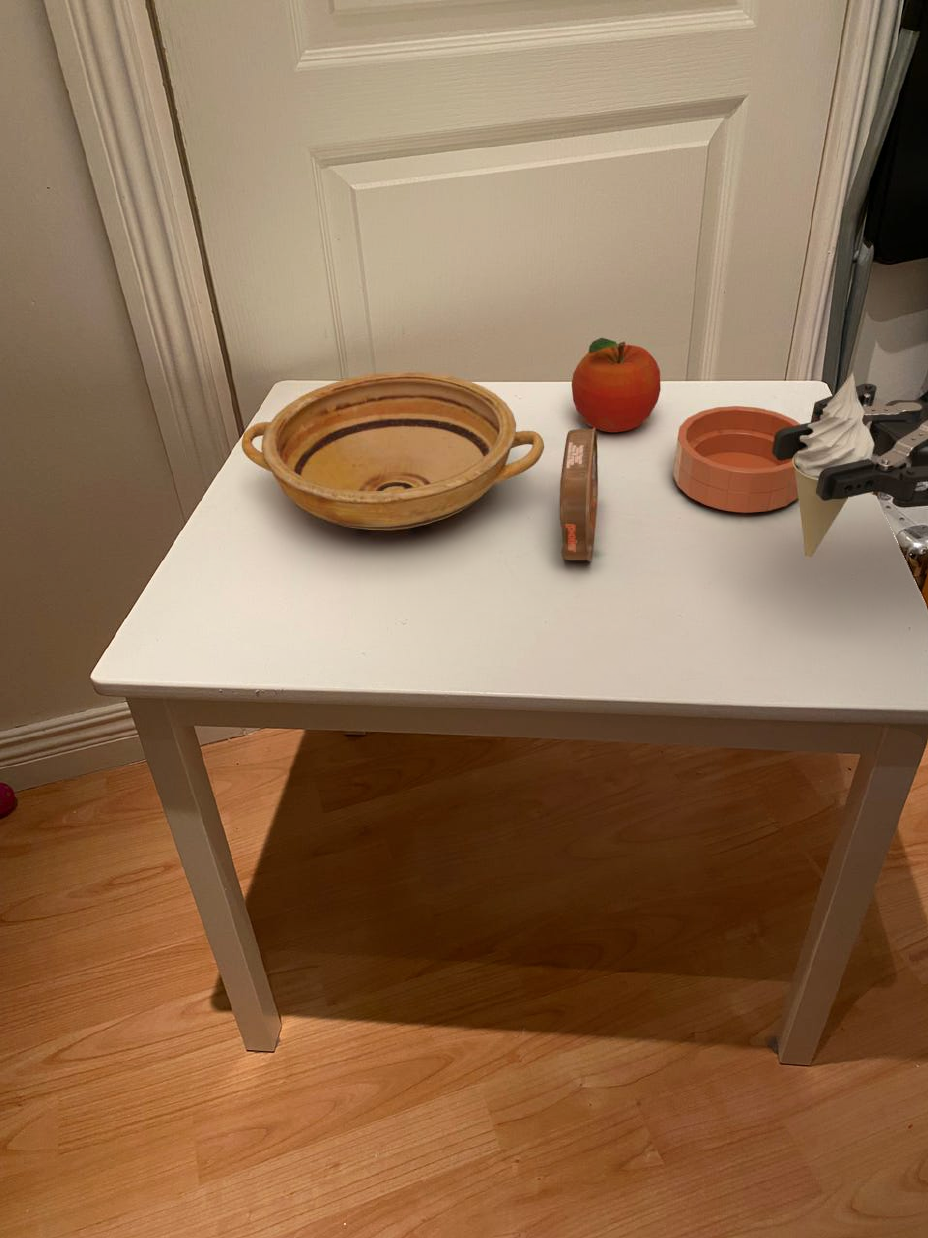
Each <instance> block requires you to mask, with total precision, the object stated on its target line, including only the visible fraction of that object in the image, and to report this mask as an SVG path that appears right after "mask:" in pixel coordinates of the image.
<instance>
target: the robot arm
mask: <svg viewBox="0 0 928 1238" xmlns="http://www.w3.org/2000/svg"><path fill="white" fill-rule="evenodd" d="M855 387H856V392H857V396H858V400H859V402H860V404H861V406H862V408H863V410H864V411H865V413H864V416H863V418H862V422H863V424H864V425H865V426H866V427H867V425H868V424H869V423H870V422H871V423H870V424H869V428H868V429H869V432H870V434H871V437H872V439H873V442H874V448H873V452H872V456H871V457H873V456H874V457H875V456H877V458H876V460H875V462H873V461H872V459H871V460H870V459H864V460H860V461H856V462H851V463H847V464H842V465H838V466H834V467H829V468H826V469H824V470H823V471H822V472H821V473H820V475H819V479H818V483H817V488H816V495H817V496H819V497H820V498H821V499H822V500H823V501H827V500H831V499H844V498H848V499H849V498H853V497H856V496H860V495H861V496H862V495H865V494H869V493H870V494H871V495H872V496H875V497H884V496H886V495H887V496H889V497H891V498H892V501H891V502H892V505H894V506H895V507H898V508H903V509H905V508H914V507H915V508H918V507H928V487H926V488H925V489H923V490H922V489H921V490H916V489H917V486H918V484H919V483H927V482H928V390H926V391H925V392H924V393H923V394H921V396H919V397H918V398H916V399H894V400H891V401H889V402H887V401H886V400H883V399H881V398H879V397H877V396H876V394H877V388H878V386H876V385H875V384H873V383H862V384H858V385H857V386H856V385H855ZM836 394H837V393H835V394H833V395H830V396H827V397H824V398H822V399H820V400H818V401H815V402H814V404H813V409H812V412H811V418H810V422H806V423H800V424H801V425H796V426H791V427H787V428H783V429H781V430H779V431H778V432H777V433H776V434H775V437H774V442H773V448H772V455H773V456H774V457H775V458H776V459H778V460H779V461H782V460H787V459H791V458H793V456H794V455H795V454H796V453H797V452H798V451H800V450H802V449H804V448H805V447H807V445H806V443H804V442H801V441H800V437H801V436H808V435H810V434H812V432H813V430H812V429H811V428H810V427H808V425H809V424H811V423H815V422H818V421H820V420H822V418H823V409H824V408H825V407H827V406H828V405H827V404H828V403H829V402H830V401H831V400H832V399H833V398H834V396H835V395H836Z"/></svg>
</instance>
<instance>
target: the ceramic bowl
mask: <svg viewBox="0 0 928 1238" xmlns="http://www.w3.org/2000/svg"><path fill="white" fill-rule="evenodd" d="M258 437H261V445H260V446H261V447H260V450H261V451H260V450H259V449H257V448H256V447H255V446H254V444H253V441H254V440H255V439H256V438H258ZM523 445H524V446H525V445H530V446H531V449H530V450H529V451H528V452H527V454H525V455H524V456H523V457H521V458H520V459H518V460H515V461H514V462H511V463H508V464H507V462H508V459H509V456H510V453H511V450H512V449H515V448H517V447H519V446H523ZM241 449H242V452H243V453H244V455H245V456H246V458H247V459H249V460H250V461H251V462H252V463H254V464H256V465H258V466H259V467H261V468H263V469H264V470H266V471H269V472H270V473H272V475H273V476H274V478H275V480H276V482H277V483H278V485H279V486H280V488H281V490H282V491H283V492H284V494H286V496H287V497H288V498H289V499H291V500H292V501H293V502H294V503H295V504H296V505H297V506H298V507H300V508H301V509H303V510H304V511H306V512H308V513H310V514H312V515H313V516H315V517H317V518H319V519H321V520H323V521H326V522H329V523H332V524H335V525H339V526H342V527H346V528H351V529H358V530H359V529H360V530H370V531H400V530H409V529H414V528H417V527H420V526H425V525H429V524H432V523H434V522H438V521H440V520H444V519H447V518H449V517H451V516H454V515H456V514H457V513H460V512H462V511H463V510H466V509H467V508H468V507H470V506H471V505H473V504H475V502H477V501H478V500H479V499H481V498H482V496H484V495H485V494H486V493H487V492H489V491H490V489H491V488H492V487H493V486H494V485H495V484H498V483H502V482H504V481H506V480H509V479H511V478H513V477H515V476H518V475H520V474H522V473H524V472H526V471H527V470H529V469H531V468H532V467H534V465H536V464H537V463H538V461H539V460H540V458H541V457H542V455H543V453H544V450H545V442H544V439H543V437H542V436H541V435H540V433H538V432H537V431H533V430H521V431H517V422H516V419H515V414H514V413H513V411H512V410H511V408H510V407H509V406H508V404H507V403H506V402H505V401H504V400H503V399H502V398H501V397H499V396H498V395H497V394H496V393H495V392H493V391H491V390H489V389H488V388H486V387H484V386H483V385H480V384H477V383H475V382H473V381H471V380H467V379H463V378H461V377H460V378H459V377H456V376H453V375H452V376H451V375H446V374H440V373H435V372H434V373H433V372H421V371H420V372H419V371H393V372H392V371H391V372H382V373H381V372H380V373H372V374H367V375H361V376H355V377H351V378H347V379H343V380H339V381H335V382H332V383H329V384H326V385H324V386H321V387H318V388H316V389H314V390H312V391H310V392H308V393H305V394H303V395H301V396H300V397H298V398H296V399H295V400H293V401H292V402H290V403H288V404H287V405H286V406H284V408H282V409H281V410H280V411H279V412H278V413H277V414H275V416H274V417H273V418H272V419H271V421H262V422H261V421H260V422H258V423H255V424H253V425H252V426H250V427H249V428H248V429H247V430H245V432H244V433H243V435H242V439H241Z"/></svg>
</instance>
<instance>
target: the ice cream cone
mask: <svg viewBox="0 0 928 1238" xmlns="http://www.w3.org/2000/svg"><path fill="white" fill-rule="evenodd" d="M835 394H836V395H835ZM835 394H834V395H835V396H834V398H833V399H832V400H831V401H830V402H829V403H828V404H827V405H828V406H827V407H825V408H824V409H823V418H822V420H820V421H818V422H815V423H811V424H809V425H808V427H810V428H811V429H812V430H813V432H812V434H810V435H808V436H801V437H800V441H801V442H804V443H806V445H807V447H805V448H804V449H802V450H800V451H798V452H797V453H796V454H795V455H794V456H793V460H792V463H793V466H794V467H795V473H796V483H797V491H798V498H797V500H798V505H799V514H800V522H801V530H802V538H803V545H804V546H803V547H804V553H805V556H806V557H807V558H812V557H813V555H814V554H815V552H816V550H817V549H818V548H819V546H820V544H821V543H822V541H823V539H824V538H825V537H826V535H827V533H828V531H829V530H830V528H831V527H832V525H833V523H834V522H835V520H836V518H837V517H838V516H839V514H840V512H841V511H842V508H843V507H844V505H845V504H846V502H847V501H848V500H849V497H848V498H844V499H831V500H827V501H823V500H822V499H821V498H820V497H819V496H817V495H816V488H817V483H818V479H819V475H820V473H821V472H822V471H823V470H824V469H826V468H829V467H834V466H838V465H842V464H847V463H851V462H856V461H860V460H864V459H870V460H871V461H872V457H873V456H872V452H873V448H874V442H873V439H872V437H871V434H870V432H869V428H868V427H867V425H866V426H865V425H864V424H863V422H862V418H863V416H864V413H865V411H864V410H863V408H862V406H861V404H860V402H859V400H858V396H857V392H856V383H855V376H854V372H853V371H852V372H850V374H849V376H848V377H847V379H846V380H845V382H844V383H843V384H842V385H841V386H840V388H839V390H838V391H837V392H836V393H835Z"/></svg>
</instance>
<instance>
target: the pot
mask: <svg viewBox="0 0 928 1238" xmlns="http://www.w3.org/2000/svg"><path fill="white" fill-rule="evenodd" d="M801 424H802V423H800V422H798V421H797V420H795V419H794V418H792V417H790V416H788V415H787V416H786V415H785V414H782V413H780V412H777V411H773V410H769V409H765V408H760V407H755V406H754V407H753V406H741V405H740V406H739V405H732V406H718V407H714V408H713V407H712V408H709V409H705V410H701V411H699V412H697V413H694V414H693V415H691V416H689V417H687V418H686V419H685V420H684V421H683V422H682V424H681V425H680V426H679V428H678V433H677V439H676V447H675V458H674V465H673V473H672V474H673V475H672V476H673V478H674V480H675V483H676V485H677V487H678V488H679V489H680V490H681V491H682V492H683V493H684V494H685V495H687V496H688V497H689V498H691V499H693V500H695V501H697V502H699V503H700V504H702V505H705V506H707V507H711V508H713V509H716V510H717V509H718V510H722V511H725V512H730V513H743V514H747V513H759V512H760V513H762V512H769V511H770V512H771V511H773V510H778V509H780V508H784V507H786V506H788V505H790V504H792V503H793V502H794V501H796V500H798V491H797V483H796V473H795V467H794V466H793V463H792V460H793V458H791V459H787V460H782V461H779V460H778V459H776V458H775V457H774V456H773V455H772V448H773V442H774V437H775V434H776V433H777V432H778V431H779V430H781V429H783V428H787V427H791V426H796V425H801Z"/></svg>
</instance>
